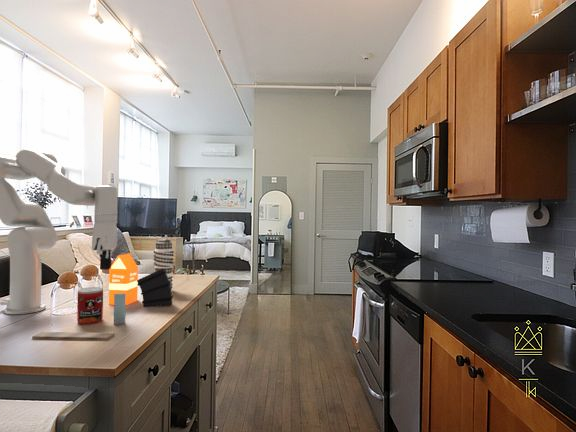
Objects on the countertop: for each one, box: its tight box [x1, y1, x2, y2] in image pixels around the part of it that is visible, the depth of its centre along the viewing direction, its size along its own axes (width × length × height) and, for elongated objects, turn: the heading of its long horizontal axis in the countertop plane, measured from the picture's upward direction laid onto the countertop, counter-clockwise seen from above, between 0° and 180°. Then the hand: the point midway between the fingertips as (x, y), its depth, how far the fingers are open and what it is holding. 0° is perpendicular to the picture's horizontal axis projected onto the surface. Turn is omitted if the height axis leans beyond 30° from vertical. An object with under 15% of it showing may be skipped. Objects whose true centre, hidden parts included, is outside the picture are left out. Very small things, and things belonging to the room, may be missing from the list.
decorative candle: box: [153, 238, 175, 293], centre depth 172 cm, size 9×9×25 cm
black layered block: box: [137, 268, 174, 308], centre depth 145 cm, size 4×13×15 cm, turn 100°
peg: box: [113, 293, 126, 326], centre depth 121 cm, size 4×4×10 cm
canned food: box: [76, 286, 104, 326], centre depth 123 cm, size 8×8×11 cm
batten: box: [32, 331, 115, 341], centre depth 107 cm, size 22×4×1 cm, turn 90°
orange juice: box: [108, 253, 139, 306], centre depth 150 cm, size 8×9×20 cm
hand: (105, 268), depth 132 cm, fingers closed
